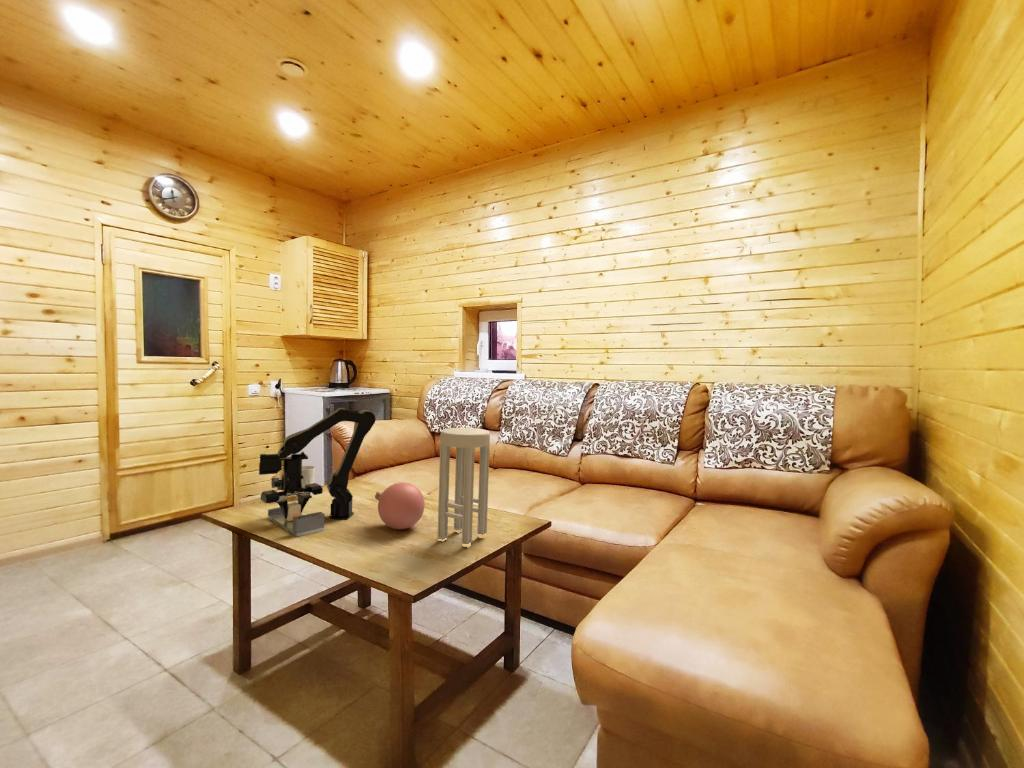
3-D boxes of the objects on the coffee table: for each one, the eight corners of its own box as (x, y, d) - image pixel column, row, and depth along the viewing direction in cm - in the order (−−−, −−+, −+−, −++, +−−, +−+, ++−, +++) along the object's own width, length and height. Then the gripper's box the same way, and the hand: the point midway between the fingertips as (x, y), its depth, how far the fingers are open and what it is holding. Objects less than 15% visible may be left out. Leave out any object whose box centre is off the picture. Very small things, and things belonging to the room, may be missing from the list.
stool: (456, 527, 164) (459, 426, 162) (495, 536, 156) (498, 430, 155) (428, 541, 150) (431, 431, 148) (469, 552, 143) (473, 436, 141)
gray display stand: (267, 518, 167) (268, 502, 166) (294, 512, 173) (294, 497, 173) (296, 537, 150) (296, 519, 150) (324, 530, 157) (324, 513, 156)
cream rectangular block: (283, 518, 163) (284, 504, 163) (295, 515, 166) (295, 502, 166) (294, 525, 157) (294, 510, 157) (306, 522, 160) (307, 508, 160)
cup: (309, 500, 188) (310, 470, 188) (289, 499, 188) (290, 469, 188) (318, 494, 196) (318, 466, 196) (299, 494, 196) (299, 465, 196)
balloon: (394, 514, 175) (395, 473, 174) (433, 527, 163) (434, 482, 162) (359, 525, 162) (360, 480, 161) (398, 540, 150) (399, 492, 150)
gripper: (309, 464, 175) (309, 506, 175) (254, 472, 161) (254, 517, 162) (323, 470, 167) (322, 514, 168) (267, 478, 154) (266, 526, 154)
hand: (292, 517), depth 163 cm, fingers closed on cream rectangular block, 4 cm apart
